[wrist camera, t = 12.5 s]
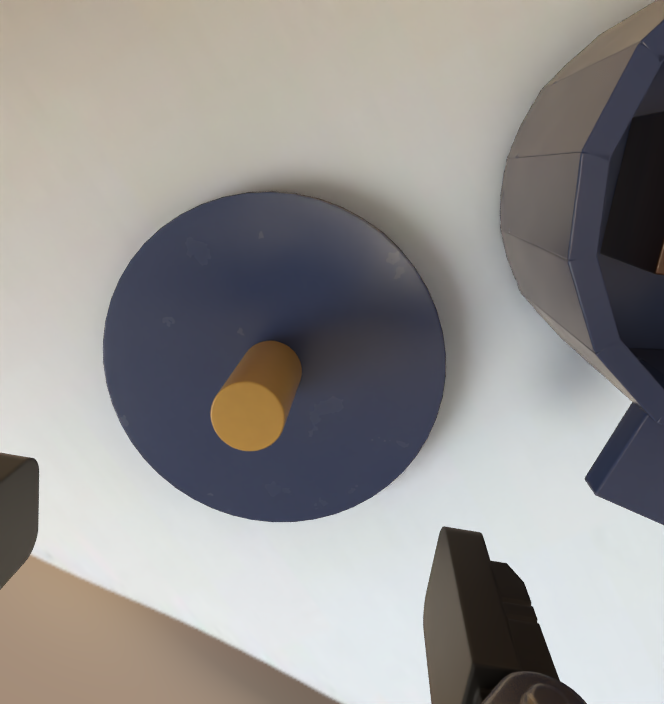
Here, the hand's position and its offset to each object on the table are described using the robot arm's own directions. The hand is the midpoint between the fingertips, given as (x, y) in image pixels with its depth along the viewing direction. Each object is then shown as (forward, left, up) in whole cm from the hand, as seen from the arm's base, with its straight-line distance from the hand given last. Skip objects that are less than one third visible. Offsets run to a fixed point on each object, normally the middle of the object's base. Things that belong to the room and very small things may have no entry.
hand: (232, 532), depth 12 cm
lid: (-1, -1, -13) cm, 13 cm away
